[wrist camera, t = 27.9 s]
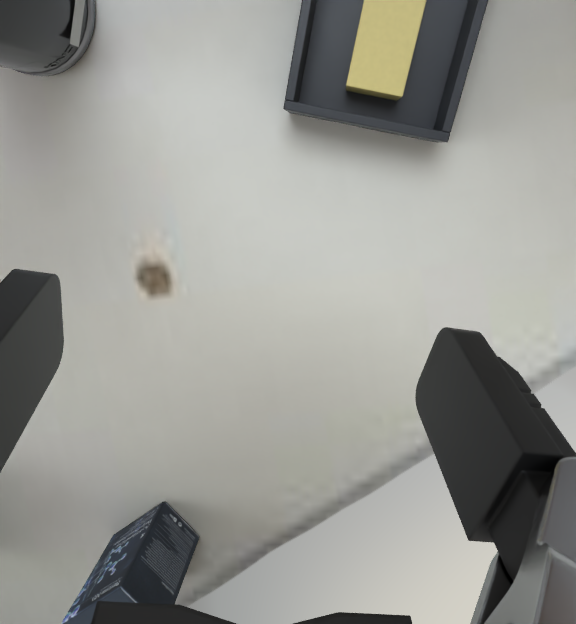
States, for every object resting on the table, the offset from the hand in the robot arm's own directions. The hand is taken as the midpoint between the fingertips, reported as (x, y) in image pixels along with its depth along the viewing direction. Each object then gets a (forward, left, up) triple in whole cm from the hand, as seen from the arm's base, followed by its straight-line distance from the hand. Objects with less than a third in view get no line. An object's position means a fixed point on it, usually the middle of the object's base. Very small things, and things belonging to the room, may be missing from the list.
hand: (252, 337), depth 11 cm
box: (+14, -36, -30) cm, 49 cm away
